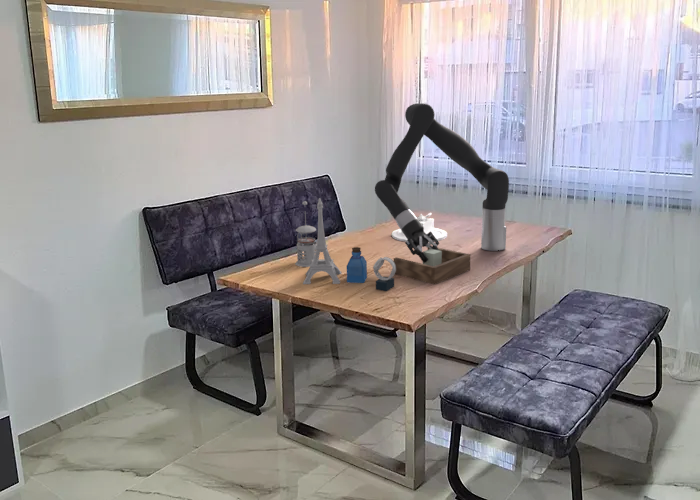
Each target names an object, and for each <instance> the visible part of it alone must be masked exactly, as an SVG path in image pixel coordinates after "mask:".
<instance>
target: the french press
mask: <svg viewBox="0 0 700 500" xmlns="http://www.w3.org/2000/svg"><path fill="white" fill-rule="evenodd" d="M301 205H303V206H306V205H308V201H306V200H305V201H302V204H301ZM306 216H307V215H306V212H304V221H305V222H304V224H305V225H301V226H298V227H297V228H296V229H295V232H297V235H299V234H300V238H299V237H298V238H297V240H296V242H297V243H296V257H297V258H296V259H297V261H296V262H295V264H294V265H295V266H298V267H301V268H306V267H307V268H310V266H311V262H312V260H314V258H315V254H316V245H317V241H316V238H315V237H310V236H309V237H308V236H307V235H305V237H304V236H303V235H304V234H311V233H312V234H313V233H314V232H316V231H317V228H316V227H314V226H312V225H307V217H306Z"/></svg>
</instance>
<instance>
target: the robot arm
mask: <svg viewBox="0 0 700 500" xmlns="http://www.w3.org/2000/svg"><path fill="white" fill-rule="evenodd" d="M404 114H405V115H404V117H405V121H406V123H408V125H409V128H408V130H407V133H406V134H405V135H404V137H403V139H402V140H401V141H400V143H399V144H398V146H397V147H396V148H395V149H394V152H393V153H392V155H391V156H390V159H389V161H388V163H387V165H386V168H385V173H386V175H385V178H384V179H382V180H381V179H380V180H379V181H377V183H375V186H374V192H375V195H376V196H377V198H378V200H380V201H381V203H382V204H383V205H384V207H386V209H387V210H388V212H389V213H390V215H391V216H392V218H393V219H394V221H395V222H396V224H397V226H398V227H399V228H398V229H401V231H402V232H403V233H404V235H405V236H406V238H407V239H408V240H407V241H406V242H404V243H405V245H406V247H407V248H408V250H409V251H410V253H411V254H412V255H413V256H415V255H416V256H418V257H419V259H420V260H421V262H422V263H423V262H424V263H425V262H427V261H428V258H427V256H426V255H425V254H424V252H423V248H424V247H425V248H427V249H428V247H429V248H430V249H434V250H439V249H438V248H439V247H438V246H439V245H440V241H438V240H437V239H436V238H435V236H434V235H433V234H432V232H429V233H428V234H426V233H425V232H424V227H423V226H422V224H421V223H420V222H419V220H418V219H417V217H418V216H416V214H415V213H414V212H413V211H412V210H411V208H410V207H409V205H408V204H407V203H406V202H405V200H403V198H401V197H400V195H399V193H398V192H399V190H400V186H401V182H402V179H403V176H404V174H405V172H406V169H407V167H408V165H409V163H410V160H411V158H412V157H413V155H414V153H415V150H416V149H417V147H418V145H419V143H420V142H421V140H422V139H423V137H424V136H425V137H427V138H428V139H429V140H430V141H431V142H432V143H433V144H434V145H435V146H436V147H438V149H439V150H441V151H442V152H443V153H444V154H445V155H446V156H447V157H448V158H450V159H451V161H453V162H454V163H456V164H457V165H458V166H460V167H461V168H463V170H465V171H467V172H468V173H469V174H470V175H472V177H473V178H474V179H475V180H476V181H477V182H478V183H479V185H481V186H482V188H484V189H485V190H487V191H486V199H484V200H482V207H481V208H482V209H481V211H482V213H481V214H482V215H481V243H480V247H481V249H482V250H484V251H490V252H491V251H492V252H496V251H497V252H498V250H499V251H503V250H506V247H507V226H506V223H505V222H506V205H507V202H508V199H509V189H510V187H509V186H510V179H509V175H508V173H507V172H506V171H504V170H502V169H499V168H497V167H494V166H492V165H490V164H489V163H487V162H486V161H485V160H483V159H482V158H481V156H479V154H478V153H477V151H476V150H475V148H474V146H473V145H472V144H471V143H470V142H469V141H467V140H466V139H465V138H464V137H463V136H462V135H461V134H459V133H458V132H456V131H454V130H452V129H451V128H449V127H447V126H446V125H444V124H441V123H440V122H439V121H438V120H436V118H435V111H434V108H433V107H432V106H431V105H430V104H428V103H425V102H424V103H412V104H411V105H409V106H408V107H407V108H406V110H405V113H404ZM428 241H429V242H428ZM433 241H435V242H433ZM439 251H440V250H439Z"/></svg>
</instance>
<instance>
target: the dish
mask: <svg viewBox="0 0 700 500" xmlns="http://www.w3.org/2000/svg"><path fill="white" fill-rule="evenodd" d="M431 216H432V212H428V214H426V215H423V214H422V213H420V214H419V216H418V215H417V216H416V217H417V219H418V220H419V222H420V223H421V224H422V226H423V227H424V232H425V233H426V234H428V233H429V232H432V234H433V235H434V236H435V238H436V239H437V240H438V242H440V241H442V240H444V239H446V238H447V237H448V232H447V231H446V230H444V229H441V228H438V227H435V218H431ZM429 217H430V218H429ZM391 237H392V238H393V239H395V240H397V241H401V242H404V243H405V242H406V241H407V240H408V239H407V238H406V236H405V235H404V233H403V232H402V231H401V229H400V228H398V229H395V230H393V231H392V233H391ZM433 242H434V243H435V241H433ZM428 243H429V241H428Z"/></svg>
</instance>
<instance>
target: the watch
mask: <svg viewBox="0 0 700 500" xmlns="http://www.w3.org/2000/svg"><path fill="white" fill-rule="evenodd" d="M385 261H387V262H388V263H389V264H390V265H391V271H390V274H389V276H383V275H381V273H380V272H379V270H380V269H381V268H382V267H383V265H384V263H385ZM372 269H373V272H374V275H375V277H376V278H378V279H377V280H375V290H377V291H383V292H388V291H390V290H391V289H393V288H395V278H394V276H395V275H396V274H395V272H396V266H395V263H394V259H392V258H391V257H387V256H384V257H383V256H382V257H380V258H378V259H377V260H376V261H375V263H374V264H373V266H372Z"/></svg>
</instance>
